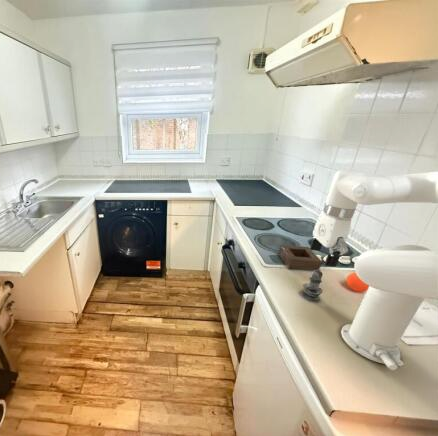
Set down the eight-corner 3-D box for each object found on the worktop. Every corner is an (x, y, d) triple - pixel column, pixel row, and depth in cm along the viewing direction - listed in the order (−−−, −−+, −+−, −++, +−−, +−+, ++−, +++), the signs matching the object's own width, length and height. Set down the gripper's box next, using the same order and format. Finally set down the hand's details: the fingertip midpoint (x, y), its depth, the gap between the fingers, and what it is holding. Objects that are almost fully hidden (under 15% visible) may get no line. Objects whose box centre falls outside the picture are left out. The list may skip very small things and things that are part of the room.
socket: (318, 271, 100) (322, 261, 98) (288, 269, 102) (291, 259, 100) (305, 256, 111) (308, 247, 109) (278, 254, 113) (280, 245, 111)
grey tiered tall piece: (312, 290, 89) (321, 263, 84) (323, 301, 84) (334, 273, 79) (297, 291, 89) (305, 264, 84) (307, 302, 83) (316, 274, 79)
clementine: (342, 280, 95) (347, 265, 92) (364, 285, 92) (371, 270, 89) (345, 291, 89) (351, 275, 86) (369, 298, 85) (376, 282, 83)
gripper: (311, 200, 82) (299, 244, 89) (341, 221, 66) (323, 271, 73) (335, 201, 81) (320, 245, 88) (371, 222, 65) (350, 274, 72)
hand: (322, 257), depth 80 cm, fingers open, 9 cm apart
